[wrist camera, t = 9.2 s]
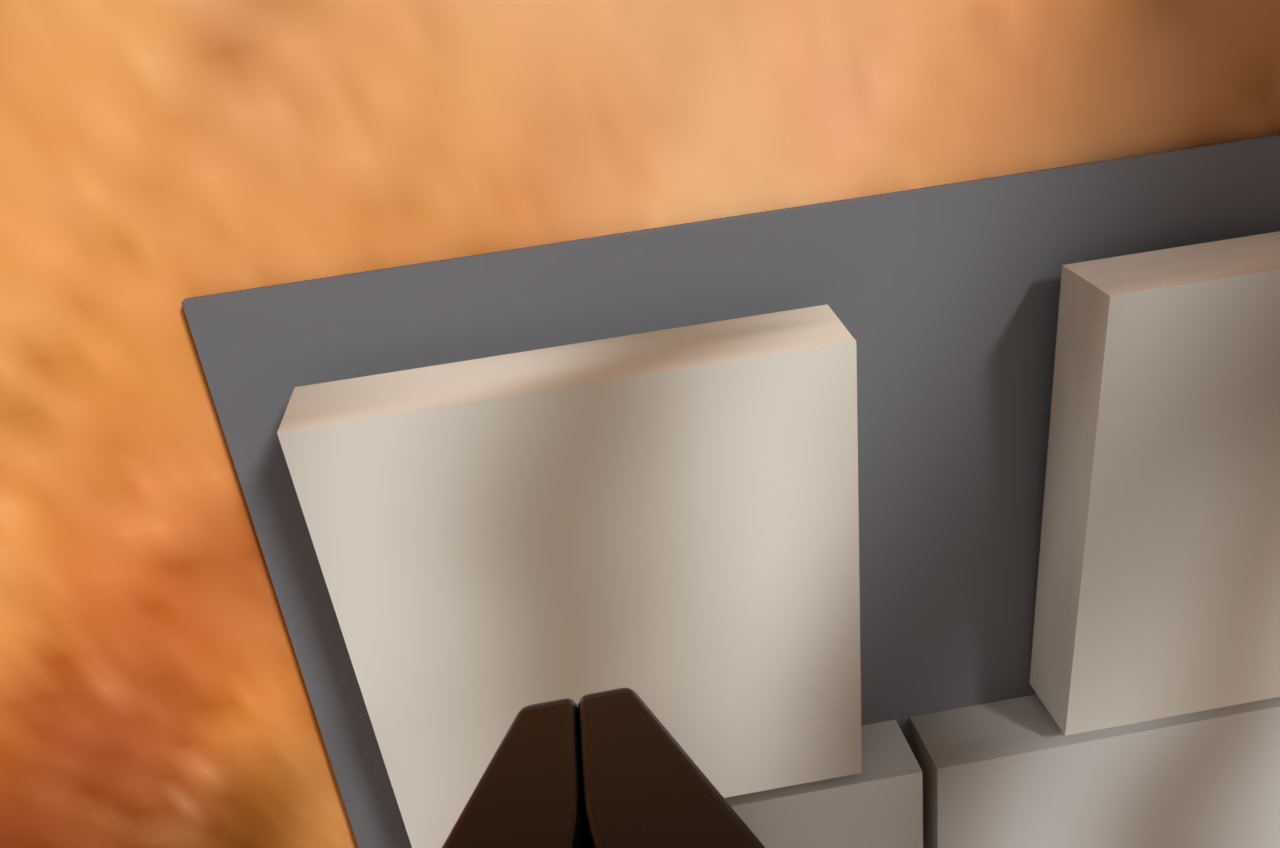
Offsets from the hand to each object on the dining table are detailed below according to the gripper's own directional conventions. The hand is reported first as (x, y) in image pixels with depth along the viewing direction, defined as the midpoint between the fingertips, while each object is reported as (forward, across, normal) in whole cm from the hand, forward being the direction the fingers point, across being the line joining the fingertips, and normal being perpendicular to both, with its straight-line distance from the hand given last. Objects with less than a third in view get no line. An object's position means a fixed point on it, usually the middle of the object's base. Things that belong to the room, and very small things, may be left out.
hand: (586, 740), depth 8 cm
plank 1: (+10, 0, +5) cm, 11 cm away
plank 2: (+10, -13, +5) cm, 17 cm away
